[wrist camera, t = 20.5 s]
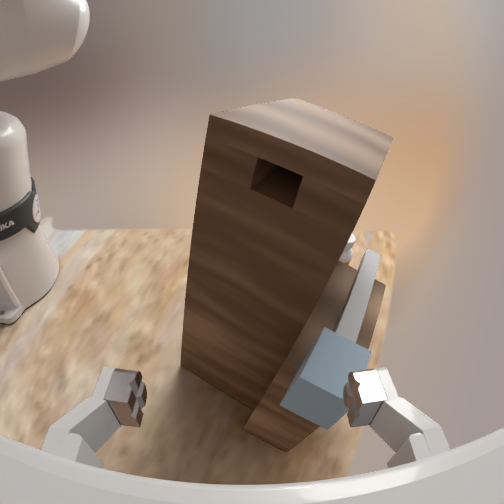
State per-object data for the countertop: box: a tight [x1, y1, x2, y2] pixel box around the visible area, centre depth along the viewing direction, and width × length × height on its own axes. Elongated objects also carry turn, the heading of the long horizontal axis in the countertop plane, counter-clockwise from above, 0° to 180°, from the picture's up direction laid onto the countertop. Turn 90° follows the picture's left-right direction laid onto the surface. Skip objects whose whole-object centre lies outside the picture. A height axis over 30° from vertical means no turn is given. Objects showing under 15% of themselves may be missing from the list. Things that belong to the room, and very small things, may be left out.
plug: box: [280, 248, 381, 429], centre depth 24 cm, size 20×4×4 cm, turn 152°
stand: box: [181, 98, 393, 452], centre depth 28 cm, size 17×16×28 cm
